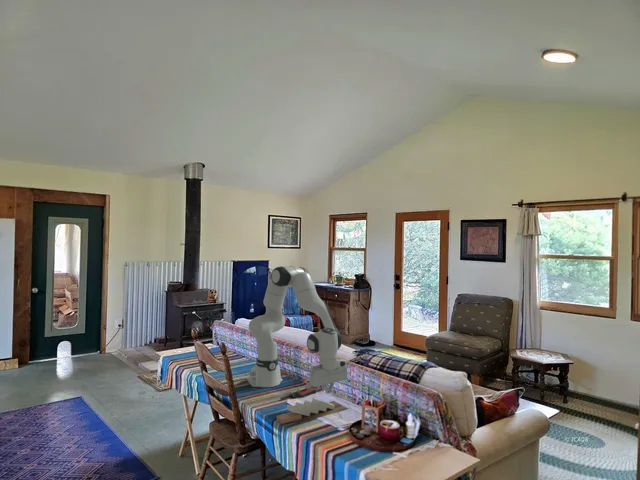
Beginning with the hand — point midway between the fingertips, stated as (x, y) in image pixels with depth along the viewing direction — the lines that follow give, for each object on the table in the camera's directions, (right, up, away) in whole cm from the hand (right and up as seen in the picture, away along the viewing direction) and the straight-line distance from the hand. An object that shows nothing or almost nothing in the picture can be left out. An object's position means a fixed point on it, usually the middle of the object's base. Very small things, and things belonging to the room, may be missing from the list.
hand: (328, 392), depth 202 cm
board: (-6, -9, -4) cm, 11 cm away
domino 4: (-2, -7, -2) cm, 7 cm away
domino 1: (-14, -7, -9) cm, 18 cm away
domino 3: (-6, -7, -4) cm, 10 cm away
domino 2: (-10, -7, -7) cm, 14 cm away
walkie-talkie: (-15, -9, +18) cm, 25 cm away
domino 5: (+1, -7, +1) cm, 7 cm away
